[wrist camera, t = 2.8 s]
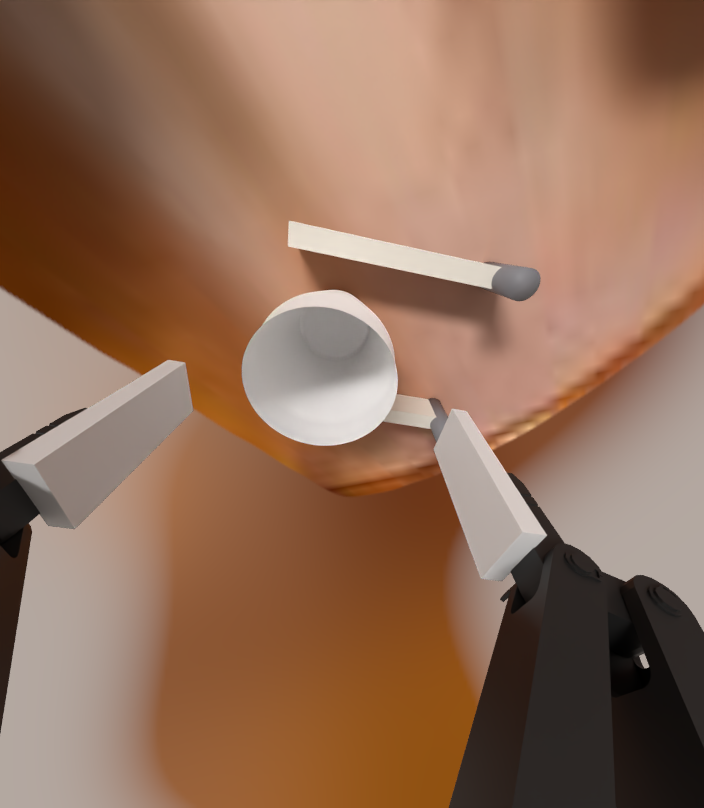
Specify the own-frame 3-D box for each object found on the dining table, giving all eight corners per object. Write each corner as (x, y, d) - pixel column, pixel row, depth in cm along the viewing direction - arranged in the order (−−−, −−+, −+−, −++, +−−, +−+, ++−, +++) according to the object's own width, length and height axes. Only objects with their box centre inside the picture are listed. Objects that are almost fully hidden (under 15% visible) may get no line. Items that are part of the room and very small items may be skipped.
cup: (268, 300, 24) (202, 346, 13) (360, 255, 22) (364, 268, 11) (315, 382, 28) (291, 463, 18) (395, 350, 26) (420, 421, 16)
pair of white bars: (288, 390, 28) (274, 422, 23) (298, 219, 20) (279, 212, 15) (437, 414, 30) (453, 449, 25) (502, 264, 22) (546, 271, 17)
